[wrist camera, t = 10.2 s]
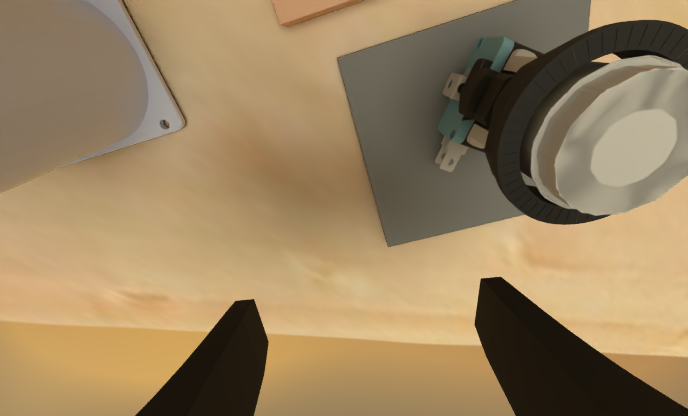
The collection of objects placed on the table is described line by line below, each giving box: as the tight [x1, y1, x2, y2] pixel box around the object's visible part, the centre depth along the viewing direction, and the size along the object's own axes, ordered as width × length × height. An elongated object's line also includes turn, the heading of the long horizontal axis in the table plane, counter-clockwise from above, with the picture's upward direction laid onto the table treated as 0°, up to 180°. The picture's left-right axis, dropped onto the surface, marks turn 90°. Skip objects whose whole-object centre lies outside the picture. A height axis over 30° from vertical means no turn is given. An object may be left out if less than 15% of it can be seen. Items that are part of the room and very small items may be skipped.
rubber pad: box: [338, 0, 591, 247], centre depth 17 cm, size 12×12×1 cm
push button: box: [435, 20, 688, 225], centre depth 12 cm, size 7×5×10 cm
